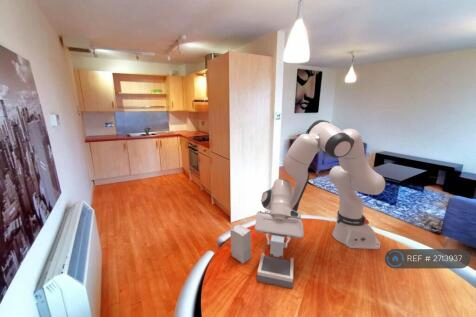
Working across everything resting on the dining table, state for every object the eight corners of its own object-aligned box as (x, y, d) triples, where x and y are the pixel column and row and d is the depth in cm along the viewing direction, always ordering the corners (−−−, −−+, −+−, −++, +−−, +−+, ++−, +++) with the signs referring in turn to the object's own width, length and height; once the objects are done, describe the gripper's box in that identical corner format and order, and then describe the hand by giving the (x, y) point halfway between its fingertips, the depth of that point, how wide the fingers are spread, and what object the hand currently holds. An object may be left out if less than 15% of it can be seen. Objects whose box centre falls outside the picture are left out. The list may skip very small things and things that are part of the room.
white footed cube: (283, 251, 90) (284, 235, 88) (282, 260, 85) (283, 243, 83) (271, 249, 91) (272, 233, 90) (269, 258, 86) (270, 241, 84)
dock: (292, 266, 95) (293, 258, 93) (292, 288, 83) (293, 279, 82) (261, 260, 98) (261, 252, 97) (257, 281, 87) (257, 271, 86)
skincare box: (251, 258, 100) (252, 230, 96) (242, 264, 96) (242, 235, 92) (239, 249, 106) (239, 223, 102) (230, 255, 101) (229, 228, 98)
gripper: (256, 207, 93) (251, 240, 86) (304, 214, 88) (303, 249, 81) (257, 212, 99) (253, 243, 92) (303, 218, 93) (302, 251, 87)
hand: (277, 246), depth 87 cm, fingers closed on white footed cube, 5 cm apart
